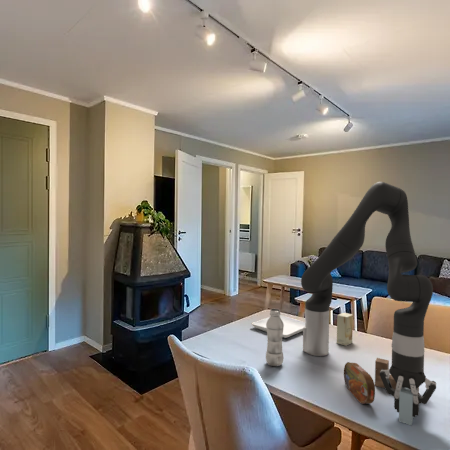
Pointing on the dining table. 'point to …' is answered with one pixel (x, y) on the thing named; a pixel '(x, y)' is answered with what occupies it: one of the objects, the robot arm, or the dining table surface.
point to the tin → (359, 383)
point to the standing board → (384, 365)
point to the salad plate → (289, 323)
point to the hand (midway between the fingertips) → (406, 413)
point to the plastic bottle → (274, 338)
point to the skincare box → (344, 328)
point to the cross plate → (405, 406)
